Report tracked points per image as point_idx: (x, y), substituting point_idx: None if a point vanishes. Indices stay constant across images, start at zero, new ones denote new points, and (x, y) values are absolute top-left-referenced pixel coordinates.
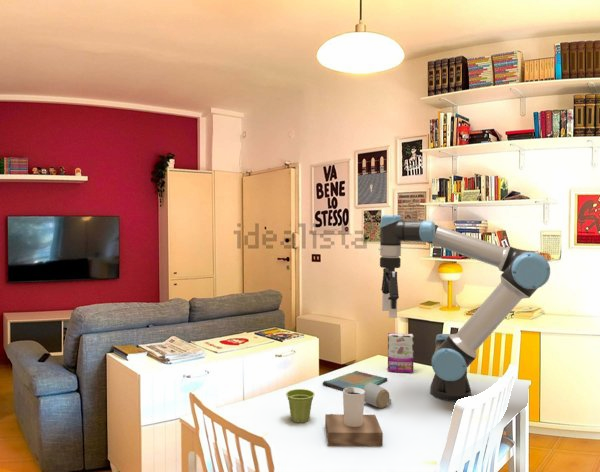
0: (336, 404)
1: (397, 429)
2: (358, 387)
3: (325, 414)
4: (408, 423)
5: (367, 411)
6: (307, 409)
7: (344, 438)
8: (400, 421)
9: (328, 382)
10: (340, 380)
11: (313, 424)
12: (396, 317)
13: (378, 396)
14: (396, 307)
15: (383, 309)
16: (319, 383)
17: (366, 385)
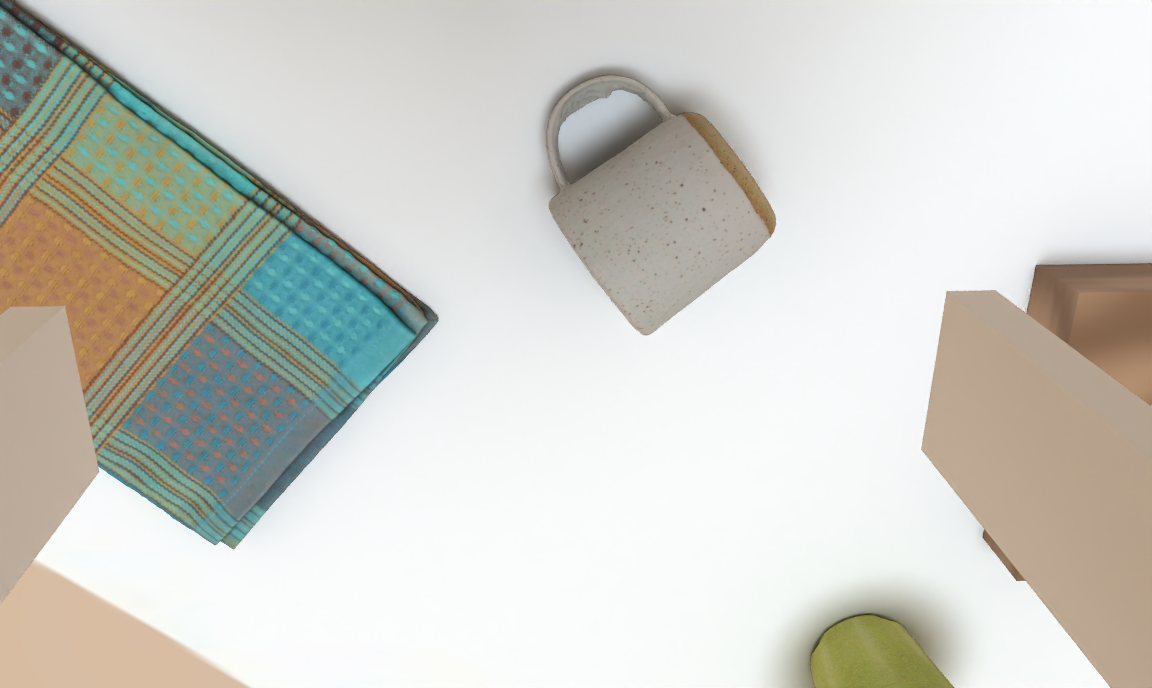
0: (631, 462)
1: (1100, 124)
2: (297, 294)
3: (1018, 580)
4: (1018, 21)
5: (770, 276)
6: (941, 673)
7: None
8: (974, 74)
9: (252, 517)
10: (129, 417)
11: (940, 592)
12: (999, 302)
13: (774, 226)
14: (1137, 413)
15: (79, 470)
16: (187, 555)
17: (645, 319)
